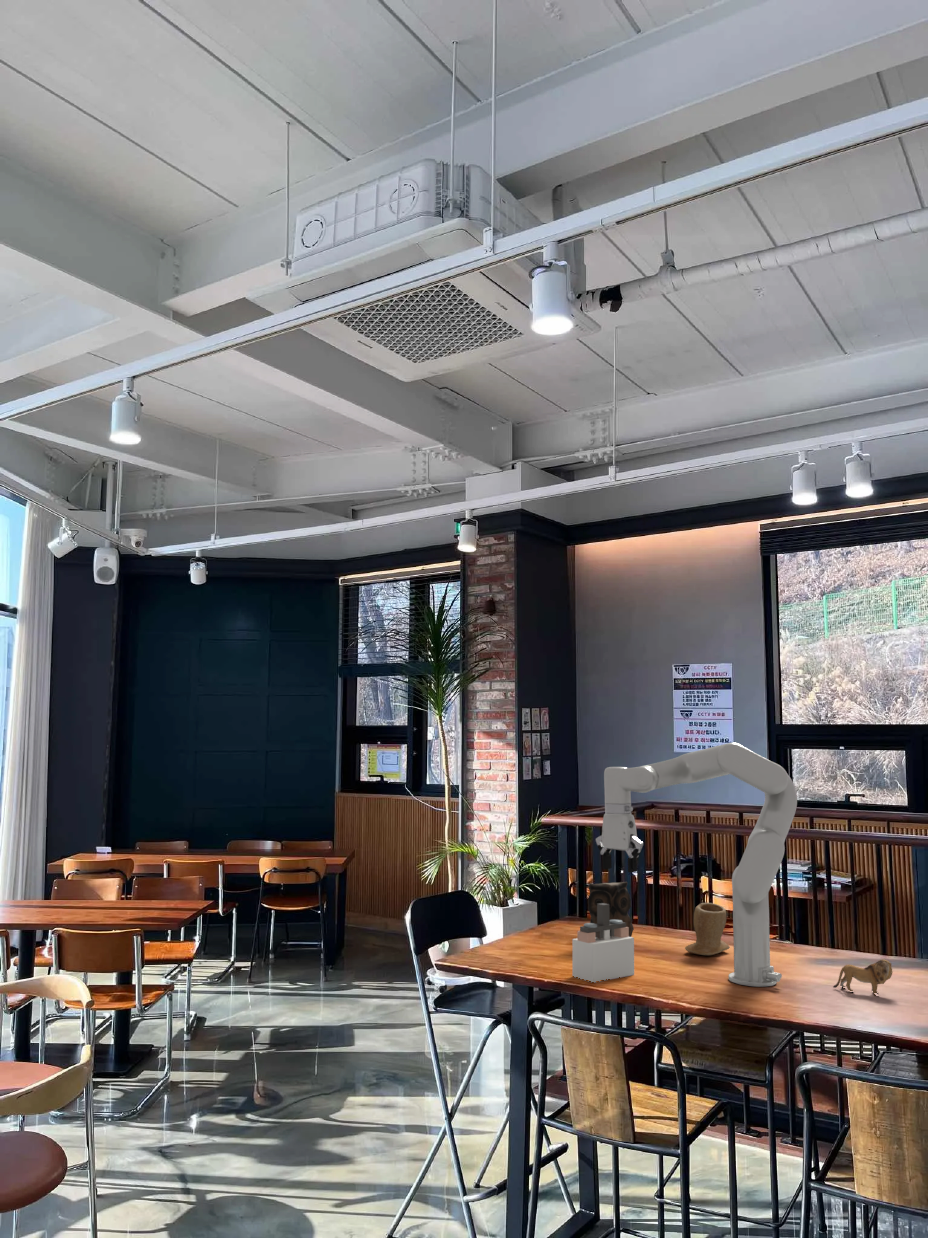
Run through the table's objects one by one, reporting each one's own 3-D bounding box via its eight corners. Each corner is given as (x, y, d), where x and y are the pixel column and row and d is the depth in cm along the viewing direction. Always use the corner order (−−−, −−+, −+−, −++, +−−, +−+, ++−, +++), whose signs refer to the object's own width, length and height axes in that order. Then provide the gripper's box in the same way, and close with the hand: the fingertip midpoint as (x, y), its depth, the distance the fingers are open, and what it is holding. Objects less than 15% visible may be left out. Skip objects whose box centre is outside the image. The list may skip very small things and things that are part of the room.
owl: (635, 945, 299) (634, 881, 302) (616, 952, 289) (616, 886, 292) (599, 940, 307) (599, 877, 309) (580, 946, 297) (580, 882, 299)
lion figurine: (893, 994, 246) (891, 958, 247) (893, 999, 241) (892, 962, 242) (833, 987, 251) (832, 952, 253) (832, 992, 247) (831, 956, 248)
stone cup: (714, 960, 280) (713, 909, 282) (680, 954, 289) (679, 904, 291) (740, 953, 291) (739, 903, 293) (706, 947, 299) (705, 898, 301)
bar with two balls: (626, 934, 264) (626, 902, 266) (588, 940, 256) (588, 907, 257) (617, 932, 267) (617, 900, 268) (579, 938, 258) (579, 905, 260)
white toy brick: (634, 975, 262) (633, 928, 263) (592, 982, 252) (592, 934, 254) (613, 969, 268) (613, 924, 270) (572, 976, 259) (572, 929, 260)
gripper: (649, 810, 267) (651, 872, 265) (605, 807, 281) (606, 866, 279) (631, 812, 263) (633, 874, 260) (587, 809, 276) (588, 868, 274)
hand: (619, 870), depth 269 cm, fingers open, 9 cm apart
